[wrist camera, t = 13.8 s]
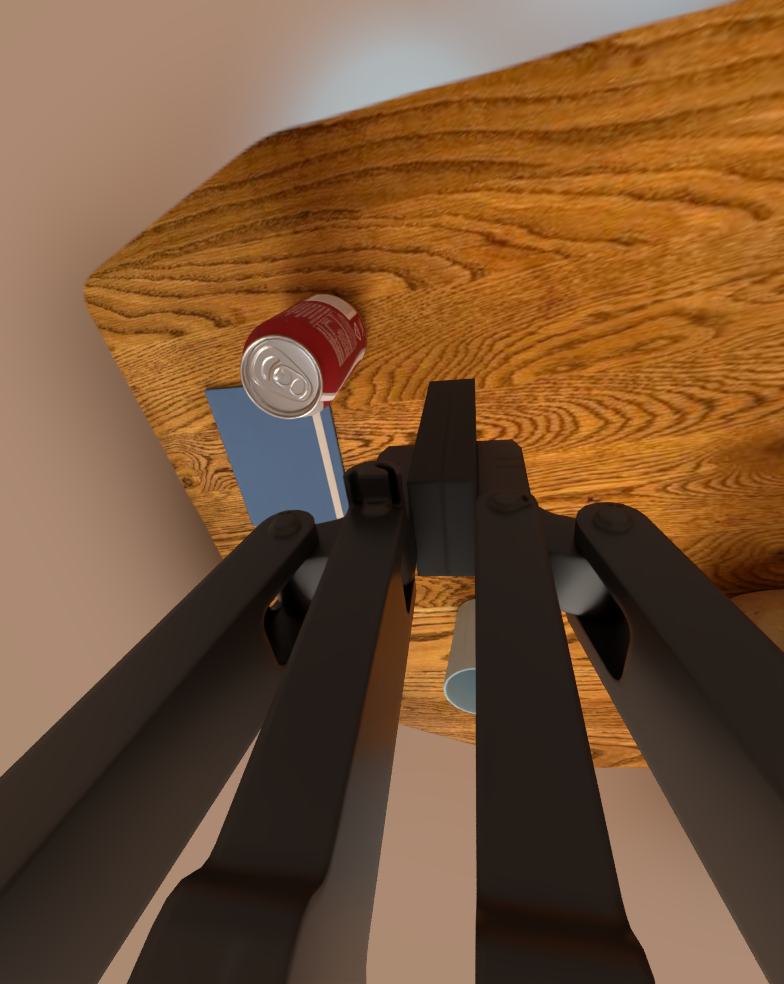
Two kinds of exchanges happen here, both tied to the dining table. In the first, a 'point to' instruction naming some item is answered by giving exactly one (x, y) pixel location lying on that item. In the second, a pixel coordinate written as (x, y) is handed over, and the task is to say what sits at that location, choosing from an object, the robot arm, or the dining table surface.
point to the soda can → (303, 356)
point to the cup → (462, 661)
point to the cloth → (281, 458)
